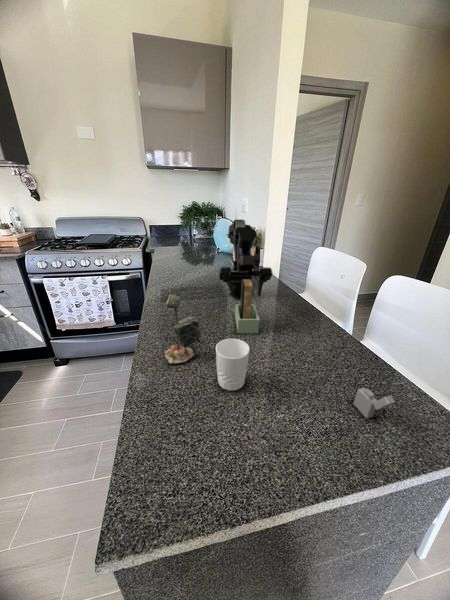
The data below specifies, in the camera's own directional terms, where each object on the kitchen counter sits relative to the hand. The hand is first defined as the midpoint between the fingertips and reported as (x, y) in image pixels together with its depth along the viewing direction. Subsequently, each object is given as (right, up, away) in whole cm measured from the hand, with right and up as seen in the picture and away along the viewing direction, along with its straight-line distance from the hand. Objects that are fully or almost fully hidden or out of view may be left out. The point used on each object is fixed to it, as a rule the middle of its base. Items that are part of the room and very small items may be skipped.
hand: (246, 295), depth 88 cm
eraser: (-1, -9, 0) cm, 9 cm away
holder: (0, -10, 0) cm, 10 cm away
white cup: (-6, -22, -25) cm, 34 cm away
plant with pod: (-19, -17, -16) cm, 31 cm away
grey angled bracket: (+23, -27, -34) cm, 49 cm away
